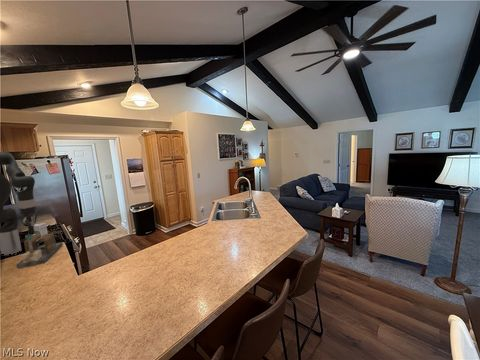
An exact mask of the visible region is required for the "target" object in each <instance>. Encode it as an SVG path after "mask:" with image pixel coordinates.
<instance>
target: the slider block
mask: <svg viewBox="0 0 480 360" xmlns="http://www.w3.org/2000/svg"><path fill="white" fill-rule="evenodd" d="M32 236H33V234H32V233H30V234H26V235H25V236H24V237H25V240H27V239H28V245H29V250H30V251H28V252H26V251H25V253H24V254H22V255H21V258H22V260H23V263H26V262H32V261H37V260H39V259H40V258H41V257H42V252H41V250H34V251H33V247H32V241H31V238H32Z"/></svg>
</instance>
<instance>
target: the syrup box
mask: <svg viewBox="0 0 480 360" xmlns="http://www.w3.org/2000/svg"><path fill="white" fill-rule="evenodd" d="M33 232H34V236H37V235H41V237H42V236H43V235H45V234H49V233H48V228H47V223H46V222H39V223H35V224H34V231H33ZM41 237H40V238H41ZM37 242H38V240H36V243H37ZM40 242H43V241H40ZM38 243H39V242H38Z"/></svg>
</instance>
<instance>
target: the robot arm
mask: <svg viewBox="0 0 480 360" xmlns="http://www.w3.org/2000/svg"><path fill="white" fill-rule="evenodd" d="M0 166H6V168H5V173H6V175H7V176H8V177H9V178H10V180H9V179H8V178H7V177H5V175H3V174H2V172H0V225H1V224H3V223H4V224H3V225H2V226H1V227H0V254H4V255H3V256H10V255H9V254H11V255H13V254H14V253H15V254H17V252H18V253H19V251H20V252H22V244H21V240H20V235H19V228H18V226H19V221H18V214H17V211H16V209H14V208H5V209H4V205H5V204H6V202H7V200H8V198H9V197H10V195H11V194H12V187H13V188H15V189H18V188H19V189H20V188H25V189H24V190H21V191H18V192H17V193H16V194H17V200H18V202H17V203H18V210H19V215H23V217H22V218H23V220H21V222H20V223H21V224H23V226H24V227H27V228H28V232H29V233H31V232H34V225H36V224H37V223H36V221H37V219H38V215H37V214H36V215H35V213H36V212H37V206H36V201H35V198H34V187H35V185H36V184H35V182H36V180H35V178H34V177H33V176H32V175H26V174H25V172H24V171H23V170H22V169H21V168H20V166H19V165H18V163H17V160H16V158H15V157H14V155H13V154H12V153H11V152H9V151H0ZM15 254H14V255H15Z"/></svg>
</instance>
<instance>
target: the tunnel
mask: <svg viewBox="0 0 480 360" xmlns="http://www.w3.org/2000/svg"><path fill="white" fill-rule="evenodd" d="M40 237H41V235H37V236H35V235H32V238H31V241H32V247H33V251H34V250H41V252H42V257H41V258H40V259H39V260H37V261H32V262H26V263H23V259H22V260H20V261H19V262H18V263H16V268H17V269H20V268H26V267H31V266H37V264H38V265H43V264H46V263H47V262H48V261H49V260H50V259H51V258H52V257H53V256H54V255H55V254H56V253H58V251H59V250H61V248H63V246H64V242H58V243H56V242H55V241H56V240H55V235H54V232H52V233H48V234H45V235H43V236H42V237H41V238H40ZM36 240H38V243H39V242H40V241H42V242H43V243H44V244H43V245H39V246H38V245H37V241H36ZM23 244H24V249H25V253H26V252H28V251H30V250H29V245H28V239H25V240H24V241H23ZM62 245H63V246H62ZM45 262H46V263H45ZM42 263H43V264H42Z"/></svg>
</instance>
